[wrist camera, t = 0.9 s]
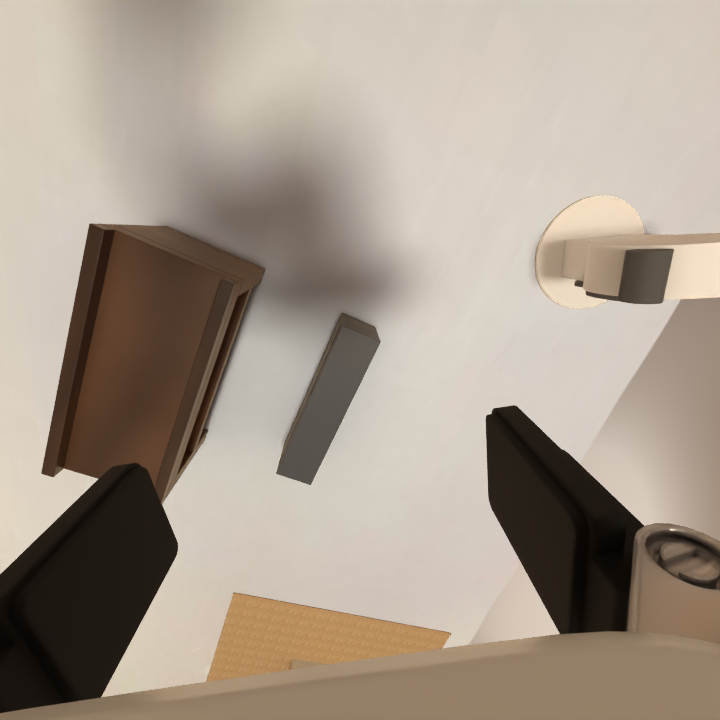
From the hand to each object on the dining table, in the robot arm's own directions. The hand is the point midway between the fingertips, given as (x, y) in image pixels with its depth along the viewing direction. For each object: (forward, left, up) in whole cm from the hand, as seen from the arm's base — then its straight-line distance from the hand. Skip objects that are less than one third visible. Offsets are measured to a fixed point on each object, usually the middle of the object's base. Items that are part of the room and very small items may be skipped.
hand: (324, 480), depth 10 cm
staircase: (+22, -60, -30) cm, 71 cm away
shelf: (-13, -11, -30) cm, 34 cm away
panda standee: (+22, +15, -30) cm, 40 cm away
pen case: (+3, -10, -30) cm, 31 cm away
